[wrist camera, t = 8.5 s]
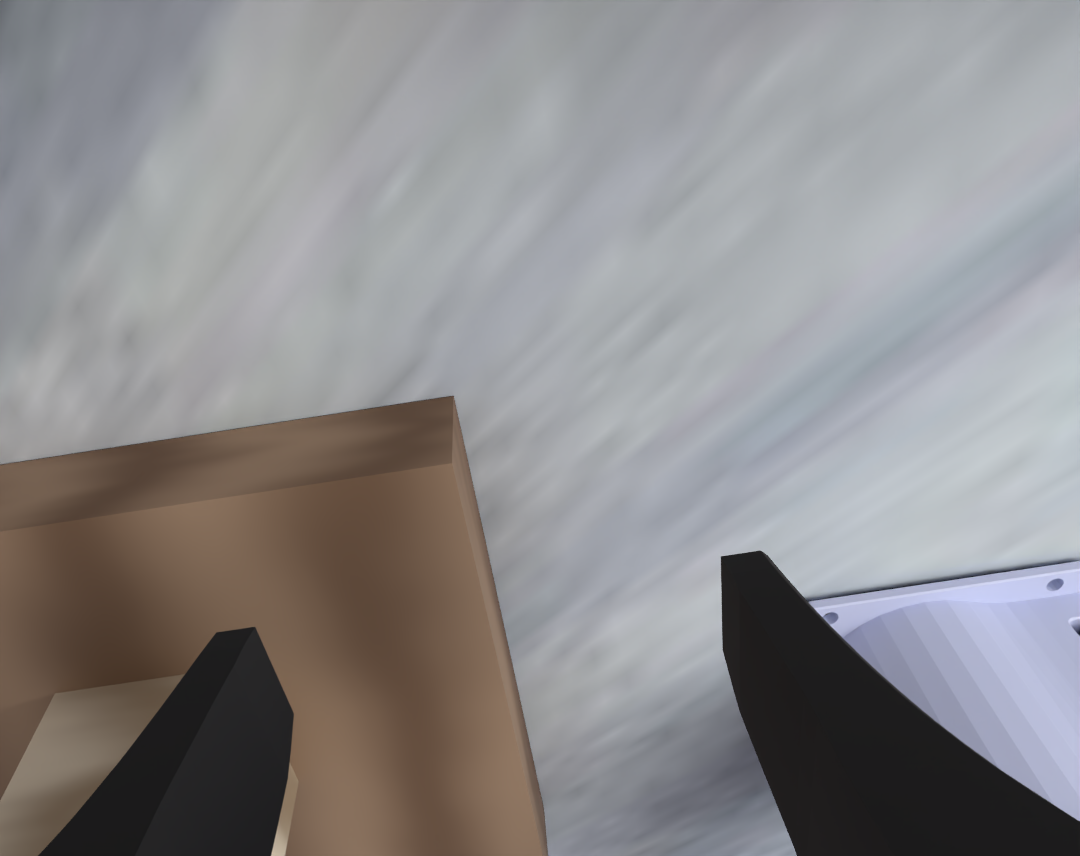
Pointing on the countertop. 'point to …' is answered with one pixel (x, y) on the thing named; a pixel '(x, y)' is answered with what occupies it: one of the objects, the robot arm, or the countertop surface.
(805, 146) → the countertop surface
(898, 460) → the countertop surface
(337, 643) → the walnut plinth
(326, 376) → the countertop surface
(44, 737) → the birch cube
